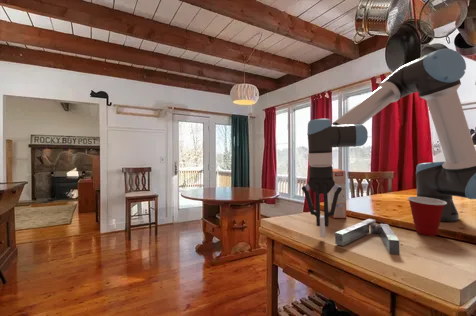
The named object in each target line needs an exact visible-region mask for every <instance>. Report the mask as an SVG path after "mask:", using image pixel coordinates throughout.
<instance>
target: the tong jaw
mask: <svg viewBox="0 0 476 316" xmlns="http://www.w3.org/2000/svg"><path fill="white" fill-rule="evenodd" d="M372 224H377V220H376V219H372V218H367V219H365V220H362V221H360V222H358V223H355V224H353V225H350V226H348V227H346V228H343V229H341V230H338V231H336V232H334V240H335V241H334V242H335V243H334V244H335V245H337V244H338V246H340V245H341V247H344V246H346V245H349V244H350V243H353V242H354V241H356V240H358V239H360V238H363V237H365V236H366V235H369V234H370V226H371V225H372Z"/></svg>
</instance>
